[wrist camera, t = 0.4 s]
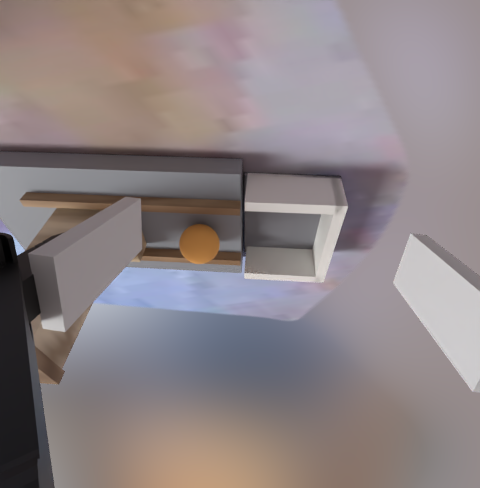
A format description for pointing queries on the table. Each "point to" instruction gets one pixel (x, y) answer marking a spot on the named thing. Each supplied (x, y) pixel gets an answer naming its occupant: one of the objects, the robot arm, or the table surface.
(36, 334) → the tan tall block
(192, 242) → the ball
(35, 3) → the table surface
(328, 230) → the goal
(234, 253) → the lane rails
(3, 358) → the robot arm
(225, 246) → the platform
